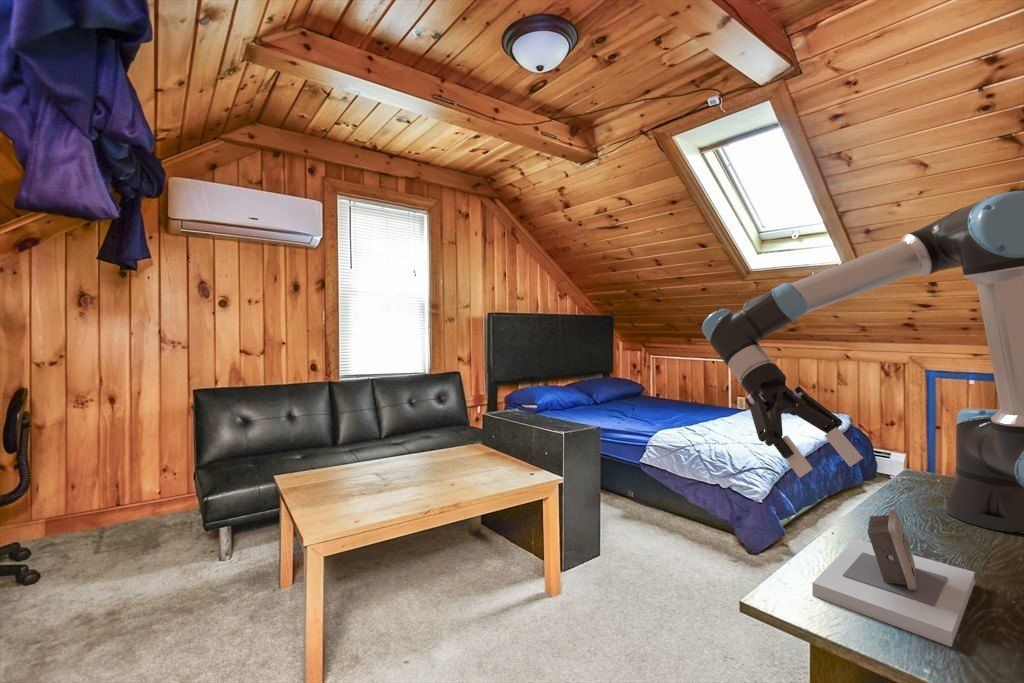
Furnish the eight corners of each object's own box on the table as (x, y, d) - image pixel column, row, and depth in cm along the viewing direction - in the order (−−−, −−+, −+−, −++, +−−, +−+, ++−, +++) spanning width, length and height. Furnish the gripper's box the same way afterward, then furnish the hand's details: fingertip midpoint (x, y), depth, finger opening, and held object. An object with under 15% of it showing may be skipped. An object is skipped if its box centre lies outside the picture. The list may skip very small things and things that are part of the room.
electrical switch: (916, 594, 71) (910, 530, 71) (872, 586, 74) (866, 524, 74) (915, 568, 78) (909, 510, 78) (875, 561, 81) (869, 506, 82)
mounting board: (854, 549, 89) (854, 537, 89) (974, 584, 77) (974, 570, 77) (812, 595, 75) (812, 581, 75) (951, 647, 63) (951, 630, 63)
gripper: (787, 380, 105) (859, 468, 92) (700, 389, 95) (768, 489, 82) (811, 358, 100) (891, 447, 87) (722, 364, 90) (798, 466, 77)
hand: (832, 467), depth 84 cm, fingers open, 13 cm apart
